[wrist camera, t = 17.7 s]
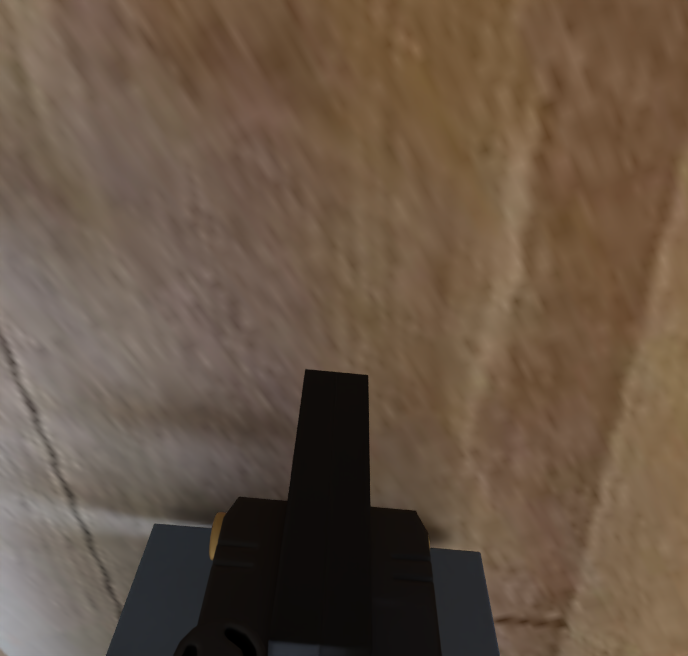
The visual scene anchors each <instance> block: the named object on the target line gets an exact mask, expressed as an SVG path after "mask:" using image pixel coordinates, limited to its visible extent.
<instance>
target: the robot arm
mask: <svg viewBox="0 0 688 656" xmlns="http://www.w3.org/2000/svg"><path fill="white" fill-rule="evenodd" d="M173 656H442V651H441V642H440V633H439V625H438V616H437V607H436V599H435V590H434V583H433V572H432V564H431V555H430V546H429V538H428V532H427V530H426V529H425V527H424V525H423V523H422V522H421V520H420V518H419V516H418V515H417V513H416V511H413V510H402V509H390V508H379V507H370V455H369V393H368V375H361V374H351V373H340V372H329V371H319V370H308V369H305V375H304V382H303V390H302V397H301V405H300V412H299V419H298V427H297V434H296V442H295V449H294V456H293V464H292V471H291V479H290V486H289V493H288V501H282V500H271V499H259V498H248V497H239V498H238V499H237V500H236V501H235V503H234V504H233V505H232V507H231V508H230V509H229V510H228V512H227V513H226V514H225V516H224V517H223V521H222V525H221V530H220V534H219V538H218V543H217V546H216V550H215V554H214V558H213V564H212V566H211V570H210V574H209V579H208V583H207V587H206V591H205V595H204V599H203V603H202V607H201V611H200V615H199V619H198V623H197V626H196V627H194V628H193V629H192V630H191V631H190V632H189V633H188V634H187V635H186V636H185V637H184V638H183V639H182V640H181V641H180V642H179V644H178V646H177V648H176V650H175V652H174V654H173Z"/></svg>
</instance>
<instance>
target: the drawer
mask: <svg viewBox="0 0 688 656" xmlns="http://www.w3.org/2000/svg"><path fill="white" fill-rule="evenodd" d="M225 514H226V513H225V512H218V513H217V514H216V516H215V518H214V521H213V525H212V528H200V527H189V526H177V525H166V524H154V526H153V529H152V531H151V534H150V537H149V540H148V542H147V545H146V548H145V550H144V553H143V556H142V559H141V561H140V564H139V567H138V569H137V572H136V575H135V578H134V580H133V583H132V586H131V589H130V591H129V594H128V597H127V599H126V602H125V605H124V608H123V610H122V613H121V616H120V619H119V621H118V624H117V627H116V629H115V632H114V635H113V638H112V640H111V643H110V646H109V648H108V651H107V654H106V656H173V654H174V652H175V650H176V648H177V646H178V644H179V642H180V641H181V640H182V639H183V638H184V637H185V636H186V635H187V634H188V633H189V632H190V631H191V630H192V629H193V628H194V627H196V626H197V623H198V619H199V615H200V611H201V607H202V603H203V599H204V595H205V591H206V587H207V583H208V579H209V574H210V570H211V566H212V564H213V558H214V554H215V550H216V546H217V543H218V538H219V534H220V530H221V525H222V521H223V517H224V516H225ZM428 538H429V536H428ZM429 546H430V541H429ZM430 555H431V564H432V572H433V583H434V590H435V599H436V607H437V616H438V625H439V633H440V642H441V651H442V656H500V653H499V648H498V643H497V638H496V632H495V627H494V622H493V617H492V611H491V606H490V601H489V596H488V591H487V585H486V580H485V575H484V570H483V564H482V559H481V554H480V552H473V551H462V550H451V549H439V548H430Z"/></svg>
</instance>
